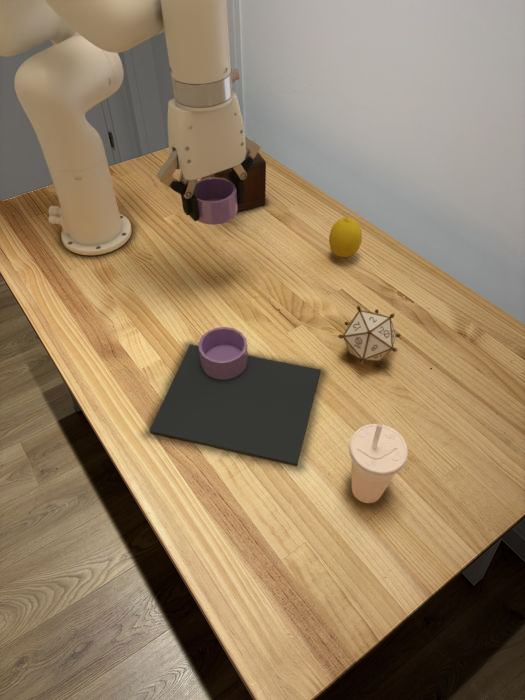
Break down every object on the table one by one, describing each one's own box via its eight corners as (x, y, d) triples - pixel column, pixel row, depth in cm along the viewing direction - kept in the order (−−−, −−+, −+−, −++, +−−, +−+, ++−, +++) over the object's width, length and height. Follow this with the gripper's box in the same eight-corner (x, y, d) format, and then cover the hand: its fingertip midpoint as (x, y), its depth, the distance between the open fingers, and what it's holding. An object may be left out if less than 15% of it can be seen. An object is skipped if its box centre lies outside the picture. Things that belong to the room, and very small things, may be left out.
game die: (372, 364, 86) (420, 323, 81) (364, 391, 79) (415, 347, 74) (330, 326, 85) (375, 282, 80) (317, 349, 78) (366, 302, 73)
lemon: (358, 247, 99) (364, 209, 93) (358, 267, 96) (365, 229, 90) (327, 245, 100) (331, 208, 94) (326, 265, 96) (331, 227, 90)
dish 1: (186, 222, 82) (183, 199, 80) (200, 197, 87) (197, 175, 84) (230, 227, 81) (229, 204, 78) (242, 201, 86) (241, 179, 83)
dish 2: (194, 374, 79) (192, 357, 77) (209, 340, 84) (207, 323, 81) (240, 383, 78) (239, 366, 75) (252, 349, 83) (252, 331, 80)
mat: (149, 432, 73) (149, 430, 73) (190, 346, 84) (189, 344, 83) (296, 466, 70) (297, 464, 70) (320, 371, 80) (320, 369, 80)
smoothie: (336, 468, 70) (349, 402, 59) (386, 464, 70) (407, 398, 60) (345, 516, 66) (361, 453, 55) (399, 511, 66) (424, 449, 55)
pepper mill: (197, 189, 112) (187, 101, 99) (248, 178, 115) (245, 90, 102) (222, 232, 103) (215, 140, 89) (277, 219, 105) (278, 127, 92)
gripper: (245, 62, 76) (250, 180, 89) (127, 94, 70) (152, 215, 83) (275, 81, 71) (276, 201, 84) (152, 116, 65) (173, 240, 78)
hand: (214, 207), depth 83 cm, fingers closed on dish 1, 6 cm apart
